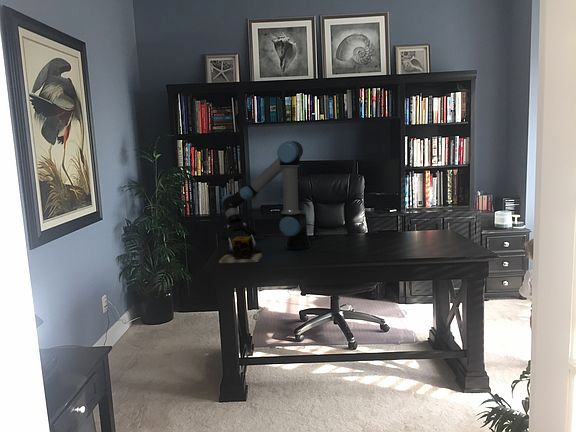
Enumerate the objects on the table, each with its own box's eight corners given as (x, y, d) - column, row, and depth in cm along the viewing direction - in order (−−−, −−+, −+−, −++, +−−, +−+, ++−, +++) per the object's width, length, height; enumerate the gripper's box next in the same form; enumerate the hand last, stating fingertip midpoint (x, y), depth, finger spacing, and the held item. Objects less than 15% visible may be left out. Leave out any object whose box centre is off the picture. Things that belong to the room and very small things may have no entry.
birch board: (262, 255, 289) (262, 253, 289) (257, 261, 275) (257, 259, 275) (225, 257, 292) (225, 254, 292) (219, 263, 278) (219, 260, 278)
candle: (249, 257, 274) (248, 239, 273) (232, 257, 276) (230, 240, 275) (254, 252, 284) (253, 235, 283) (237, 253, 286) (235, 236, 285)
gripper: (252, 218, 299) (262, 247, 288) (212, 224, 290) (221, 253, 278) (254, 211, 293) (265, 240, 282) (213, 216, 284) (222, 246, 273)
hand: (243, 247), depth 280 cm, fingers closed on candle, 13 cm apart
